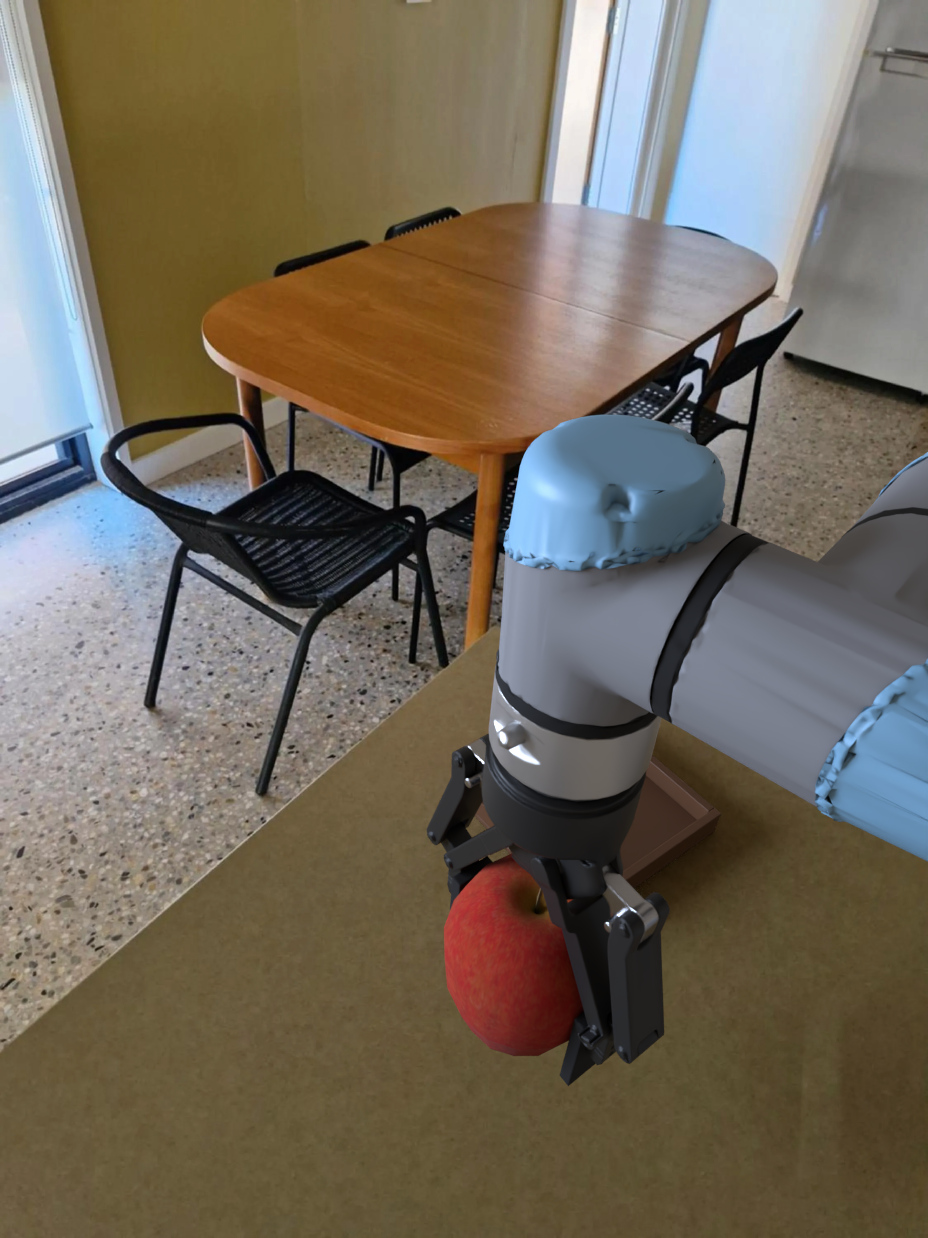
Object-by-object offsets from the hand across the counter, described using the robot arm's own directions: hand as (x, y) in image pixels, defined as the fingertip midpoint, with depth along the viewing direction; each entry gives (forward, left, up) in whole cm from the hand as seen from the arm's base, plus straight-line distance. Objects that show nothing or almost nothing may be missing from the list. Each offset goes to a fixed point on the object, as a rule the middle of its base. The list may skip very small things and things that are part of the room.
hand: (520, 994), depth 55 cm
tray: (+13, -20, -10) cm, 26 cm away
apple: (0, 0, -2) cm, 2 cm away
